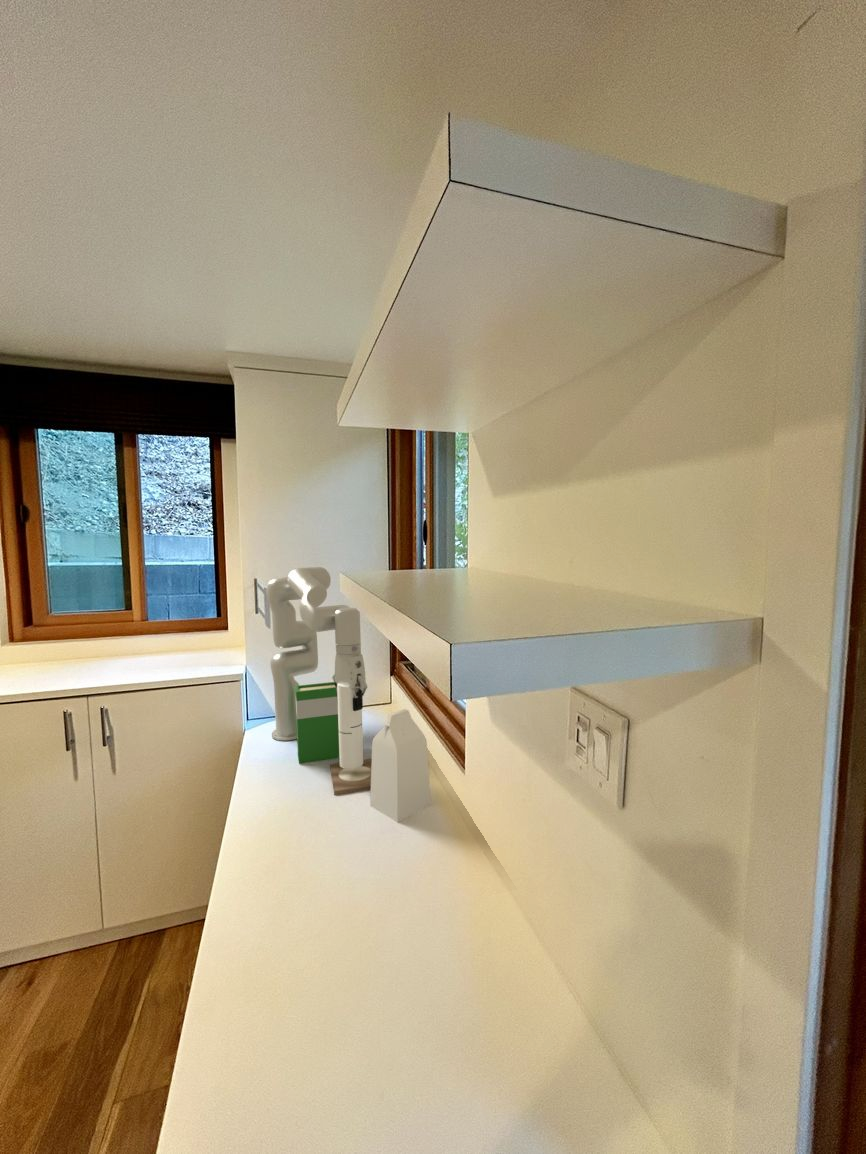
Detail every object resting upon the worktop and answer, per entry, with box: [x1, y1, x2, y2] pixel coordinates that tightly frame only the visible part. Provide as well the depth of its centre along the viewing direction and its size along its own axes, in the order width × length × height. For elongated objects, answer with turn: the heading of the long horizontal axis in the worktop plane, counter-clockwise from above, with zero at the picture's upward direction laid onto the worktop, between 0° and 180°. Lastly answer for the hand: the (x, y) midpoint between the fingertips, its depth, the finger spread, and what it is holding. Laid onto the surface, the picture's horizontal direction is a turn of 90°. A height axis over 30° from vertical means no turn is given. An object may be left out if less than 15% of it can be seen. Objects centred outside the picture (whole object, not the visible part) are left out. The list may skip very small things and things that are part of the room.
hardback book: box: [295, 681, 340, 765], centre depth 167 cm, size 18×7×24 cm, turn 108°
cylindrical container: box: [337, 683, 364, 769], centre depth 150 cm, size 7×7×25 cm
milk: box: [369, 708, 432, 823], centre depth 134 cm, size 12×12×26 cm
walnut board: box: [329, 758, 372, 796], centre depth 152 cm, size 18×14×1 cm
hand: (350, 706), depth 150 cm, fingers closed on cylindrical container, 7 cm apart
